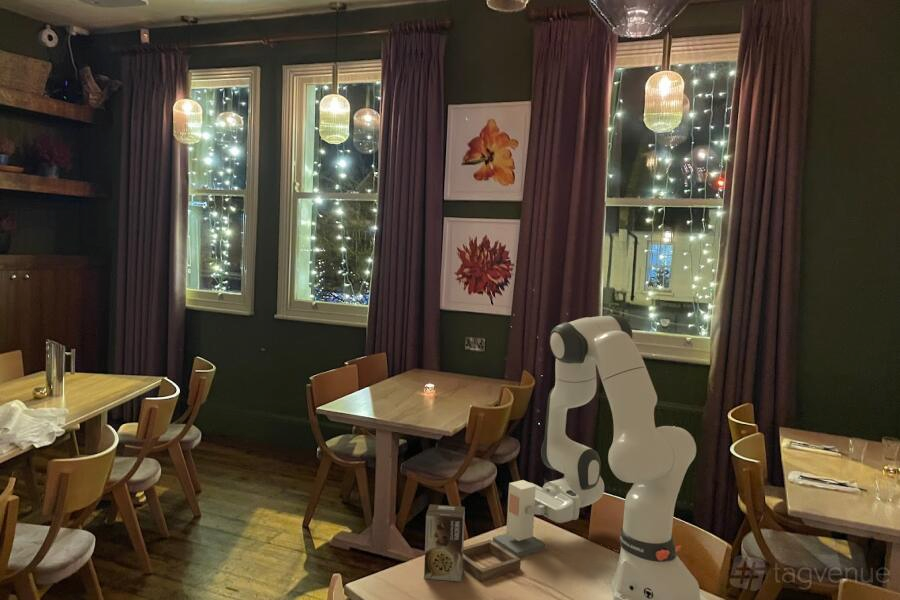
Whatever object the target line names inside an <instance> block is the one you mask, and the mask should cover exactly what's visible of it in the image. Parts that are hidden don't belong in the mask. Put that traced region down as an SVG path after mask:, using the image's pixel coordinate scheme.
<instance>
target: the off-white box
mask: <svg viewBox="0 0 900 600" xmlns="http://www.w3.org/2000/svg"><path fill="white" fill-rule="evenodd" d="M531 483H532V482H530V483H529V482H528V481H526V480H524V479H522V480H521V479H520V480H517V481H513V482H509V483H508V495H507V496H508V497H507V516H506V517H507V518H506V532H505V534H508V535H510V536H511V537H513V538H514V539H516V540H518V541H520V540H524V539H527V538H530V537H534V521H535V520H534V519H535V514H532V515H528V514H526V513H525V508H526V507H528V506H532V507H535V491H536V486H535V485H536V484H535V485H533V484H534V483H533V484H531Z"/></svg>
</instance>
